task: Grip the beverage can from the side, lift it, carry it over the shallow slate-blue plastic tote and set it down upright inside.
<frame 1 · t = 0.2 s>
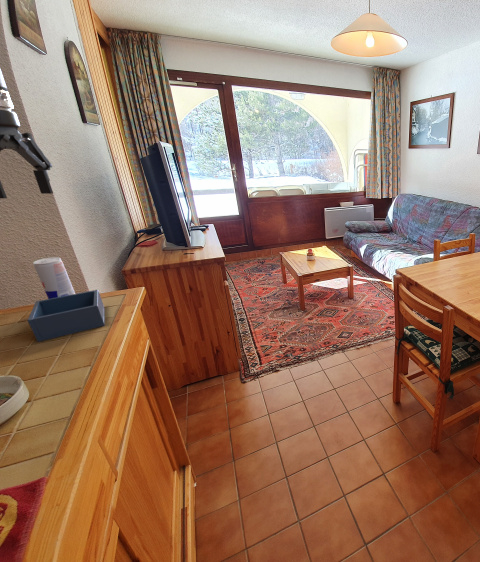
hand: (25, 195, 86), 31 cm above the worktop, tool pointing down, fingers open, 13 cm apart
tote: (74, 323, 83), on the worktop
beverage can: (67, 308, 91), on the worktop
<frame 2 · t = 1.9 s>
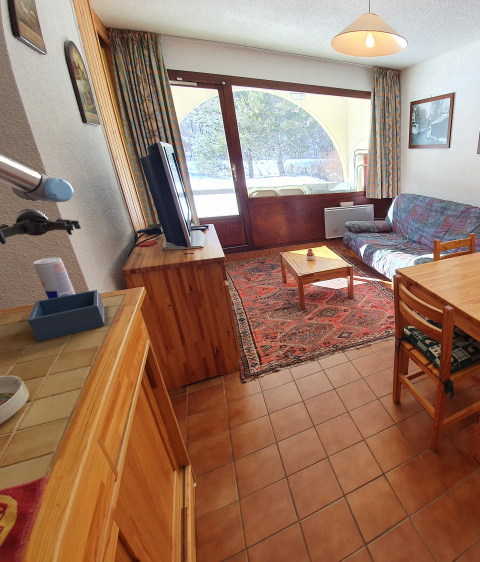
hand: (36, 234, 88), 20 cm above the worktop, tool horizontal, fingers open, 13 cm apart
nothing on the worktop moved.
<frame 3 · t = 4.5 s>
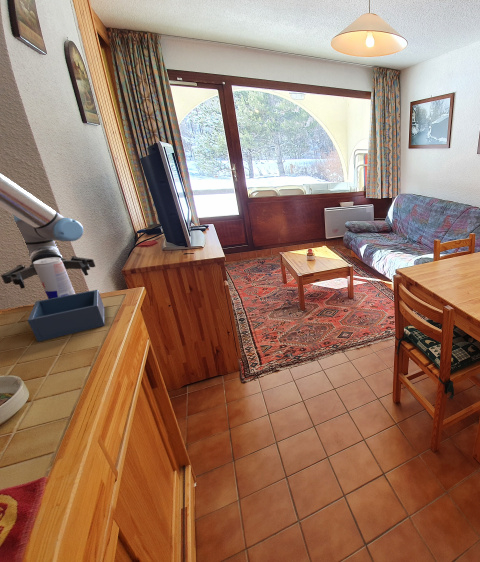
hand: (54, 277, 90), 8 cm above the worktop, tool horizontal, fingers open, 13 cm apart
nothing on the worktop moved.
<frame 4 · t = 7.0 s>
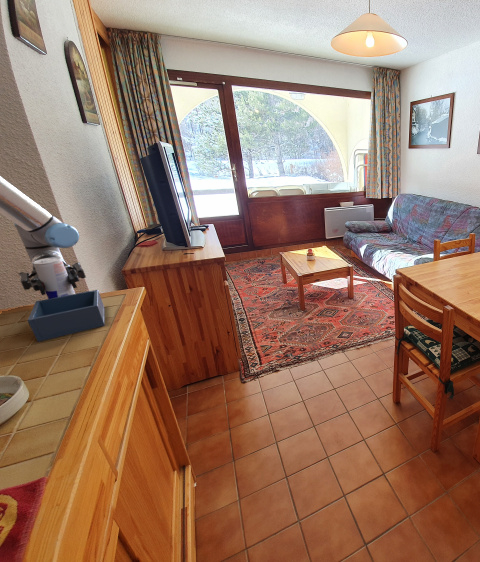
hand: (58, 286, 84), 8 cm above the worktop, tool horizontal, fingers closed on beverage can, 6 cm apart
beverage can: (67, 308, 91), on the worktop, touching gripper
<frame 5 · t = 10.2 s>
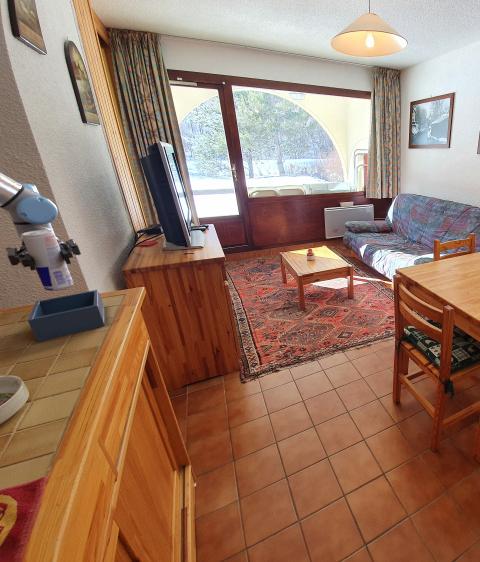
hand: (49, 261, 75), 18 cm above the worktop, tool horizontal, fingers closed on beverage can, 6 cm apart
beverage can: (60, 288, 82), point 9 cm above the worktop, touching gripper
when the fingers open (9 cm above the worktop, at t = 13.4 s): beverage can stays where it is, resting on tote.
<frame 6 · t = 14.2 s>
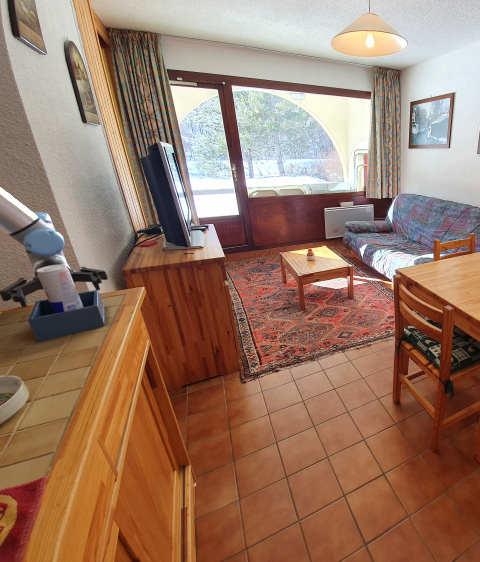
hand: (61, 293, 77), 10 cm above the worktop, tool horizontal, fingers open, 13 cm apart
beverage can: (73, 320, 83), point 1 cm above the worktop, touching tote
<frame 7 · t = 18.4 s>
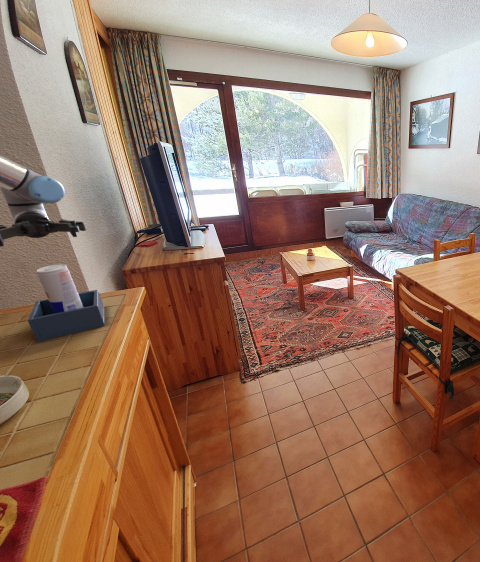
hand: (38, 236, 80), 22 cm above the worktop, tool horizontal, fingers open, 13 cm apart
nothing on the worktop moved.
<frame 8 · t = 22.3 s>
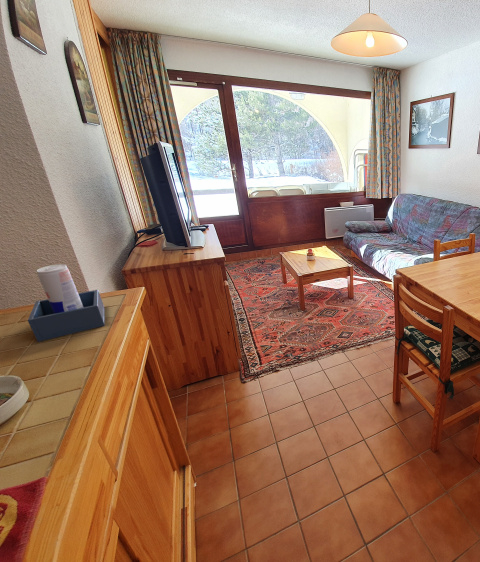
nothing on the worktop moved.
at the end: beverage can inside the target area in the tote (0.0 cm from its centre), point 0.8 cm above the tote's base; beverage can tilted 0°; the gripper is holding nothing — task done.
